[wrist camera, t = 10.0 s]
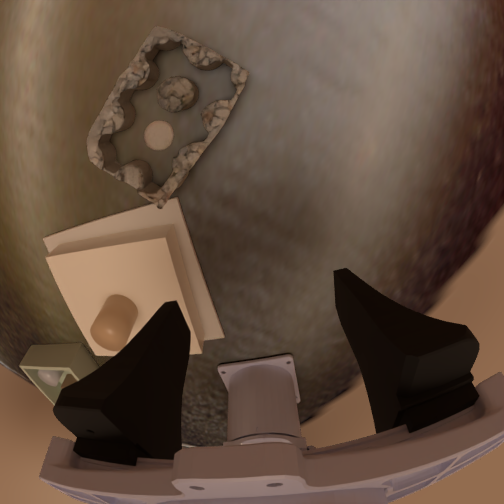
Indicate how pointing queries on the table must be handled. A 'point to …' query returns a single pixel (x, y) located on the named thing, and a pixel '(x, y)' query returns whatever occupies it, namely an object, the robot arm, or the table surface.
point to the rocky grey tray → (169, 98)
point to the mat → (145, 219)
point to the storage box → (57, 366)
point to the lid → (123, 285)
